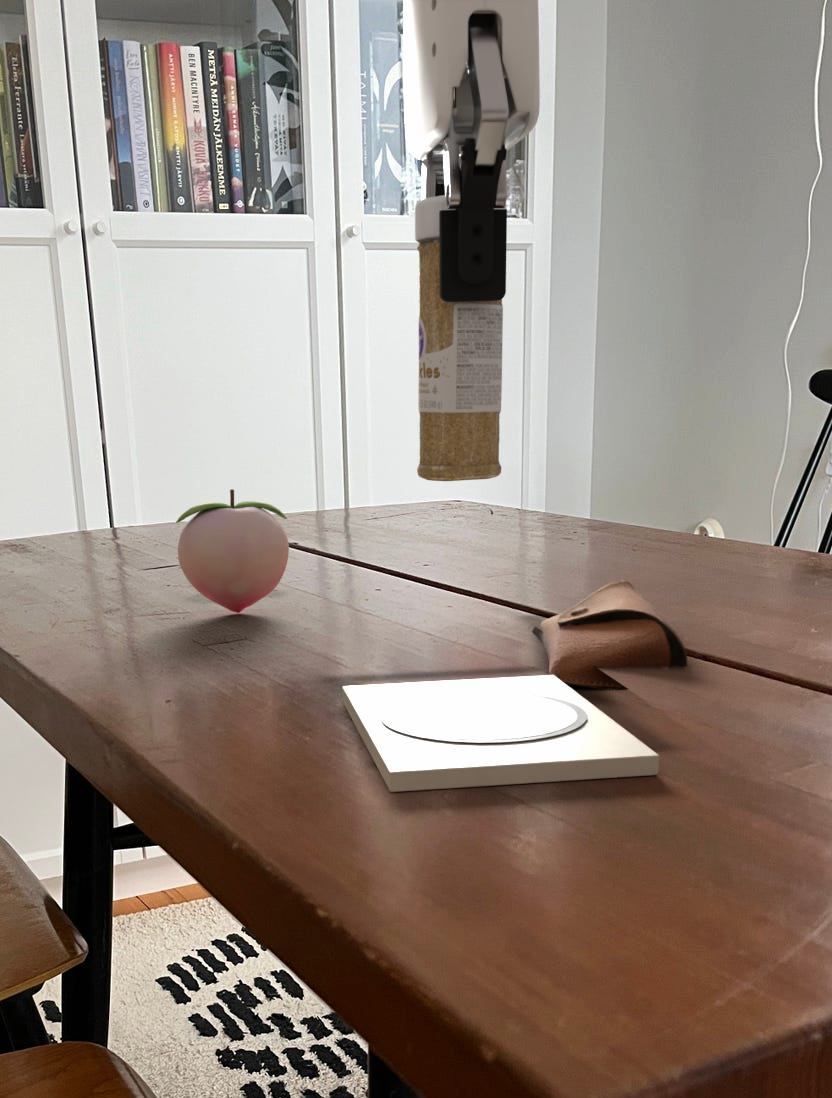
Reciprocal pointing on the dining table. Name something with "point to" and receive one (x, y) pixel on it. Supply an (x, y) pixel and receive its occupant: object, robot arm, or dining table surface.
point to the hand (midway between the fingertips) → (461, 300)
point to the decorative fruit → (233, 551)
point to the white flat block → (490, 734)
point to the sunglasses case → (608, 637)
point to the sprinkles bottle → (455, 369)
